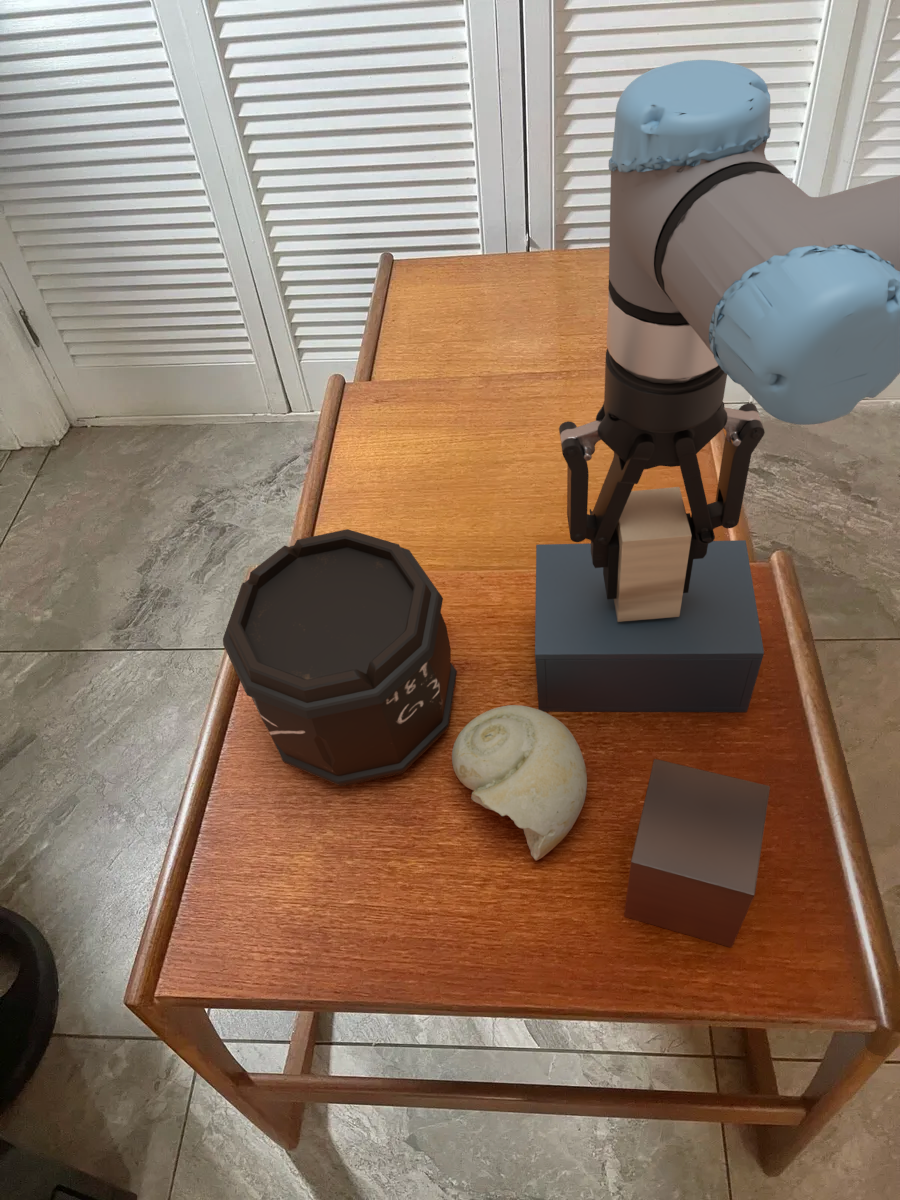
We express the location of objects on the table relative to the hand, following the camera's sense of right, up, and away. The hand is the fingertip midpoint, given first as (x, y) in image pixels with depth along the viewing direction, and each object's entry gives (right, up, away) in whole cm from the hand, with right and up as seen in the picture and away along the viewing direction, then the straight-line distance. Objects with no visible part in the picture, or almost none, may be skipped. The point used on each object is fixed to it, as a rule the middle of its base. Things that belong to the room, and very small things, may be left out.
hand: (645, 582), depth 74 cm
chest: (+1, -7, +9) cm, 11 cm away
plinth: (+2, -23, -4) cm, 24 cm away
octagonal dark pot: (-24, -11, +9) cm, 28 cm away
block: (0, -1, +1) cm, 2 cm away
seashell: (-9, -18, +2) cm, 20 cm away
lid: (0, -1, +3) cm, 3 cm away
